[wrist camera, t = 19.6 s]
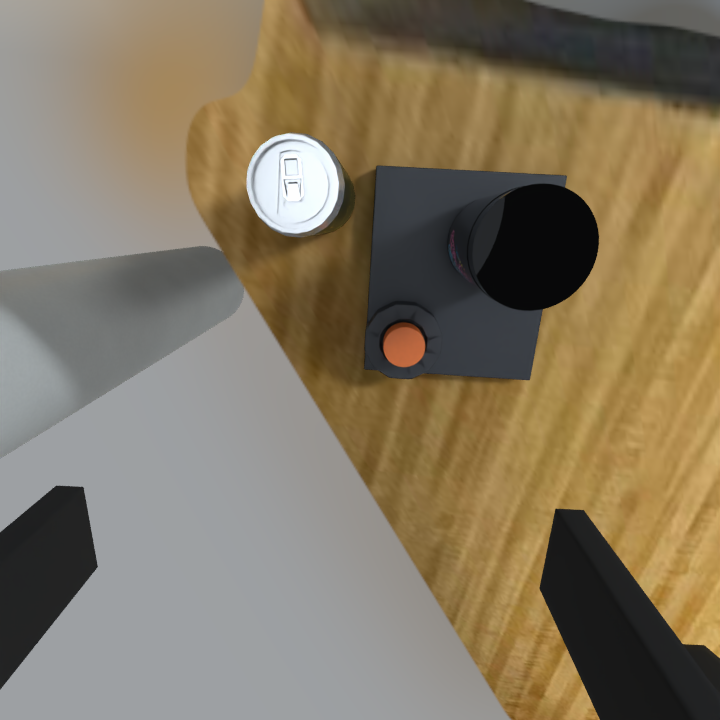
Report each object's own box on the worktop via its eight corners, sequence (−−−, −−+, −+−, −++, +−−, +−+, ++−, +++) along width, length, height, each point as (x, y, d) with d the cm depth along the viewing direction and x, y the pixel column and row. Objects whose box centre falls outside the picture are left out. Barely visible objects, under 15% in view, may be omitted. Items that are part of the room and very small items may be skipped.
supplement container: (435, 211, 33) (458, 206, 23) (524, 182, 32) (588, 164, 22) (456, 296, 35) (486, 326, 25) (541, 271, 34) (608, 291, 24)
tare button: (381, 359, 35) (381, 366, 34) (384, 320, 34) (384, 325, 33) (421, 361, 35) (423, 368, 34) (425, 323, 34) (427, 328, 33)
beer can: (285, 162, 34) (235, 131, 22) (354, 159, 33) (340, 125, 22) (291, 234, 35) (248, 240, 24) (357, 232, 35) (345, 236, 24)
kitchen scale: (364, 365, 38) (362, 376, 36) (375, 167, 34) (375, 162, 31) (524, 375, 38) (536, 387, 35) (559, 177, 33) (576, 173, 30)
